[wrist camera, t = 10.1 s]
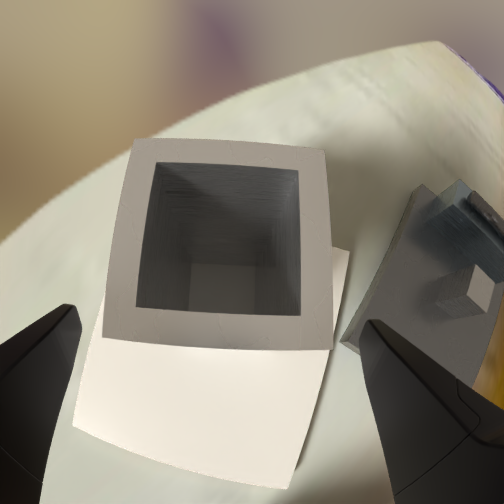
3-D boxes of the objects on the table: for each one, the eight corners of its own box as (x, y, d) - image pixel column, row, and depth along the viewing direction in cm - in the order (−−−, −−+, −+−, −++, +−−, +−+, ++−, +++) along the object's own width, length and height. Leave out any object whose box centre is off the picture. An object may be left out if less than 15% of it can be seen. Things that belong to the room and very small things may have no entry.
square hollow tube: (266, 344, 17) (333, 349, 7) (173, 339, 17) (101, 337, 6) (268, 254, 19) (324, 149, 8) (179, 249, 18) (134, 138, 8)
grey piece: (448, 410, 18) (501, 420, 12) (339, 341, 19) (384, 340, 13) (498, 269, 22) (543, 251, 16) (413, 191, 23) (454, 155, 17)
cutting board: (282, 480, 16) (287, 489, 15) (81, 420, 16) (72, 425, 15) (341, 257, 21) (349, 251, 19) (147, 202, 21) (142, 192, 19)
